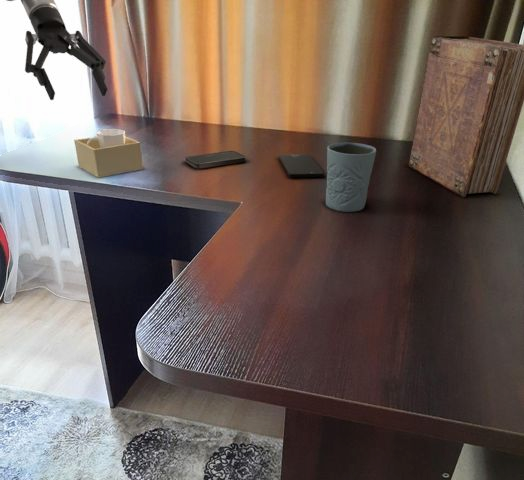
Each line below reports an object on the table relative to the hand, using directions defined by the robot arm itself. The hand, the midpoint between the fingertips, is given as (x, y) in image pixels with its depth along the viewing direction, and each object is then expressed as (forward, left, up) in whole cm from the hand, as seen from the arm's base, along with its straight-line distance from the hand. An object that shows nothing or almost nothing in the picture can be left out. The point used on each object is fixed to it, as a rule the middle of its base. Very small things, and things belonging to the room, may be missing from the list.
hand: (79, 94), depth 127 cm
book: (+64, -69, -16) cm, 96 cm away
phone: (+25, -22, -15) cm, 37 cm away
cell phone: (+40, -39, -15) cm, 58 cm away
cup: (0, -11, -15) cm, 19 cm away
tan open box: (0, -11, -15) cm, 19 cm away
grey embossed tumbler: (+29, -65, -16) cm, 73 cm away
